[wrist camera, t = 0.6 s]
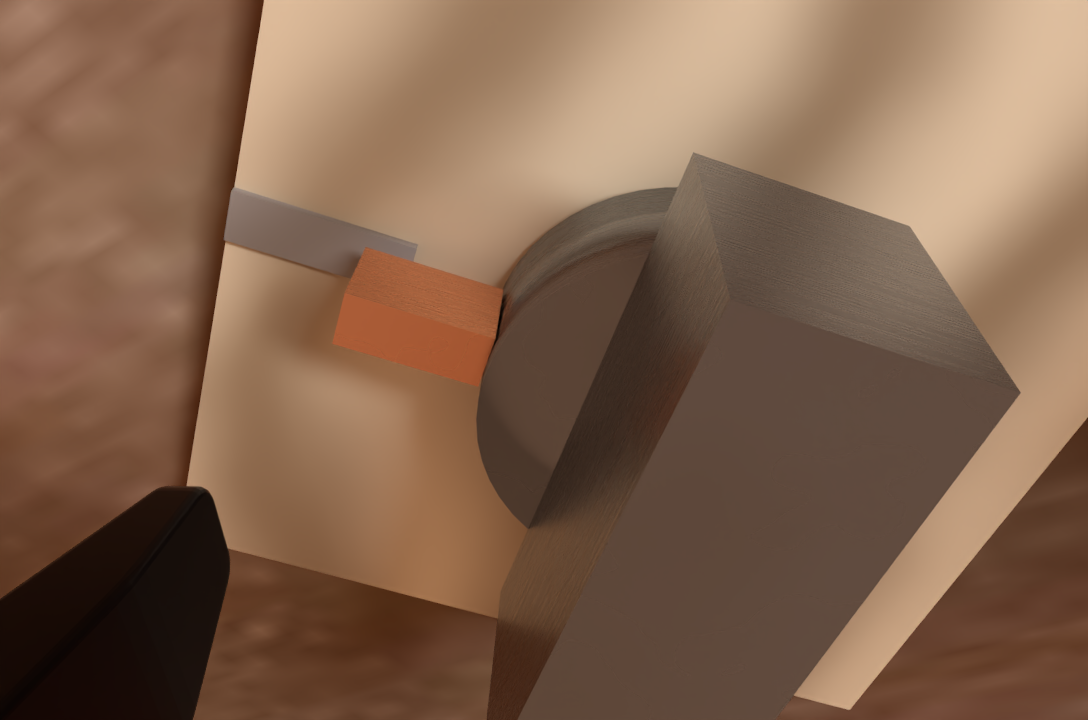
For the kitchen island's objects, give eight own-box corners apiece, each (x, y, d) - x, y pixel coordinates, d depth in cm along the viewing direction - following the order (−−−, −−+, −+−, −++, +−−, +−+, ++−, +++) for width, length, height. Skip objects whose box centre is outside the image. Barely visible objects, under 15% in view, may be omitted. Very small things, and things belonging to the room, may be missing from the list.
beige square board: (1324, 56, 19) (1374, 77, 18) (840, 676, 29) (850, 715, 28) (335, -335, 16) (315, -341, 15) (194, 505, 26) (176, 540, 25)
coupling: (956, 193, 19) (1156, 436, 12) (728, 564, 25) (778, 866, 18) (428, 9, 17) (326, 170, 11) (316, 449, 23) (204, 732, 17)
